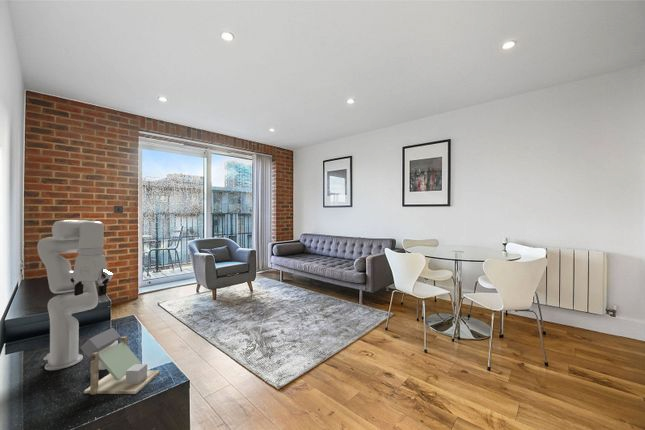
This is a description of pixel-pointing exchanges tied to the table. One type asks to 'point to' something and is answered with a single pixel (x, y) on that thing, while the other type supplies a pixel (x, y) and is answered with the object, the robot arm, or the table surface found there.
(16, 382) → the table surface
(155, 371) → the frame
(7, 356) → the table surface
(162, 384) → the table surface
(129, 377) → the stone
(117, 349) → the trapdoor
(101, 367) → the white cup
